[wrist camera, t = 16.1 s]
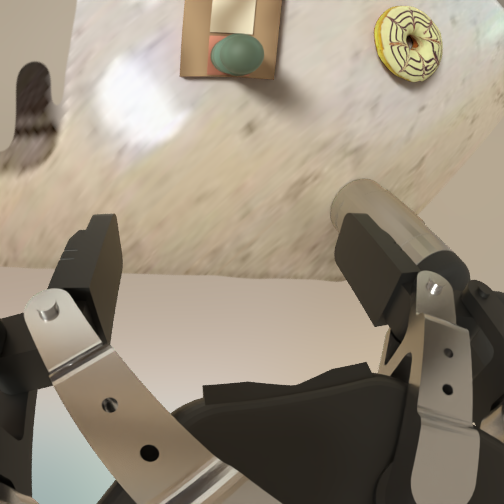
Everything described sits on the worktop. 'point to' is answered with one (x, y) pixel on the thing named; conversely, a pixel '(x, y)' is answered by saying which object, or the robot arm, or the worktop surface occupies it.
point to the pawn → (237, 54)
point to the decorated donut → (396, 49)
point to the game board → (228, 33)
